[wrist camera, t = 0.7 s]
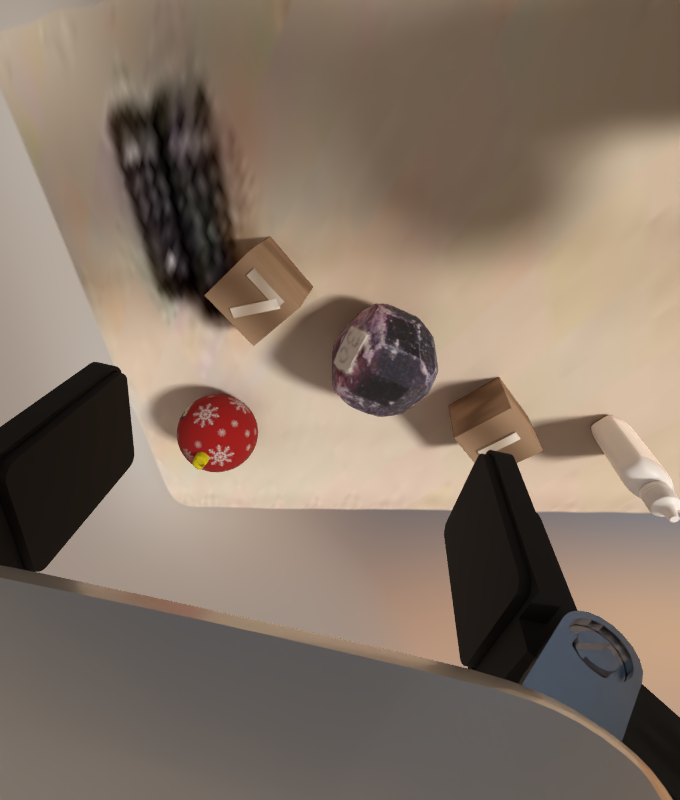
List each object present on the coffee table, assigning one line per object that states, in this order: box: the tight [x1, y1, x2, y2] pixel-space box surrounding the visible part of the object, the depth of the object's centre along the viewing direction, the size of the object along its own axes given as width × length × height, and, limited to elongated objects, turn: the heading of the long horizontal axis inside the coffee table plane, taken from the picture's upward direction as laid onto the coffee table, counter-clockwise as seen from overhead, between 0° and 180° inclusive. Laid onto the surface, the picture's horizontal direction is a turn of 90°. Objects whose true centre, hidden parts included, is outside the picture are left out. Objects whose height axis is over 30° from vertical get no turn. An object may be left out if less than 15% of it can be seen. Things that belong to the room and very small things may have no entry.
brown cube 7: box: [205, 237, 313, 346], centre depth 38 cm, size 6×6×6 cm
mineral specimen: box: [332, 304, 438, 417], centre depth 39 cm, size 10×10×10 cm
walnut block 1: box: [449, 377, 543, 463], centre depth 42 cm, size 6×6×6 cm
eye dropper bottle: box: [591, 416, 680, 522], centre depth 39 cm, size 4×6×12 cm
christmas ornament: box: [177, 394, 258, 472], centre depth 45 cm, size 9×9×10 cm
